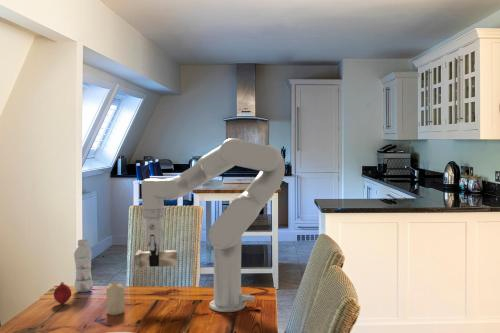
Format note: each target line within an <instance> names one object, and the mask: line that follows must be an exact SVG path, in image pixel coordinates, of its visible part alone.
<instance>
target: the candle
mask: <svg viewBox="0 0 500 333" xmlns="http://www.w3.org/2000/svg"><path fill="white" fill-rule="evenodd" d="M124 290H125V289H124V285H122V283H120V281H114V282H110V284H108V286H107V287H106V313H107V315H110V316H111V315H112V316H116V315H121V314H123V313H124V312H125V307H124V306H125V300H124V299H125V295H124V294H125V293H124Z"/></svg>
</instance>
